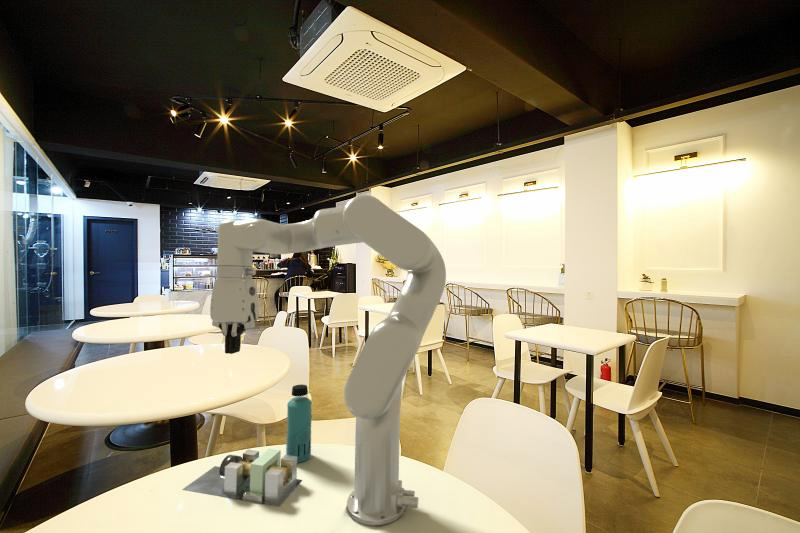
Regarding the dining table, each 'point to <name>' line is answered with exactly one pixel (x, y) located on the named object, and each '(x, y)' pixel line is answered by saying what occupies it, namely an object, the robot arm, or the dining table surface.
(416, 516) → the dining table surface
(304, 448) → the beverage bottle
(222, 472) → the shaft
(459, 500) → the dining table surface
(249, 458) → the rig
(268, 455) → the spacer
